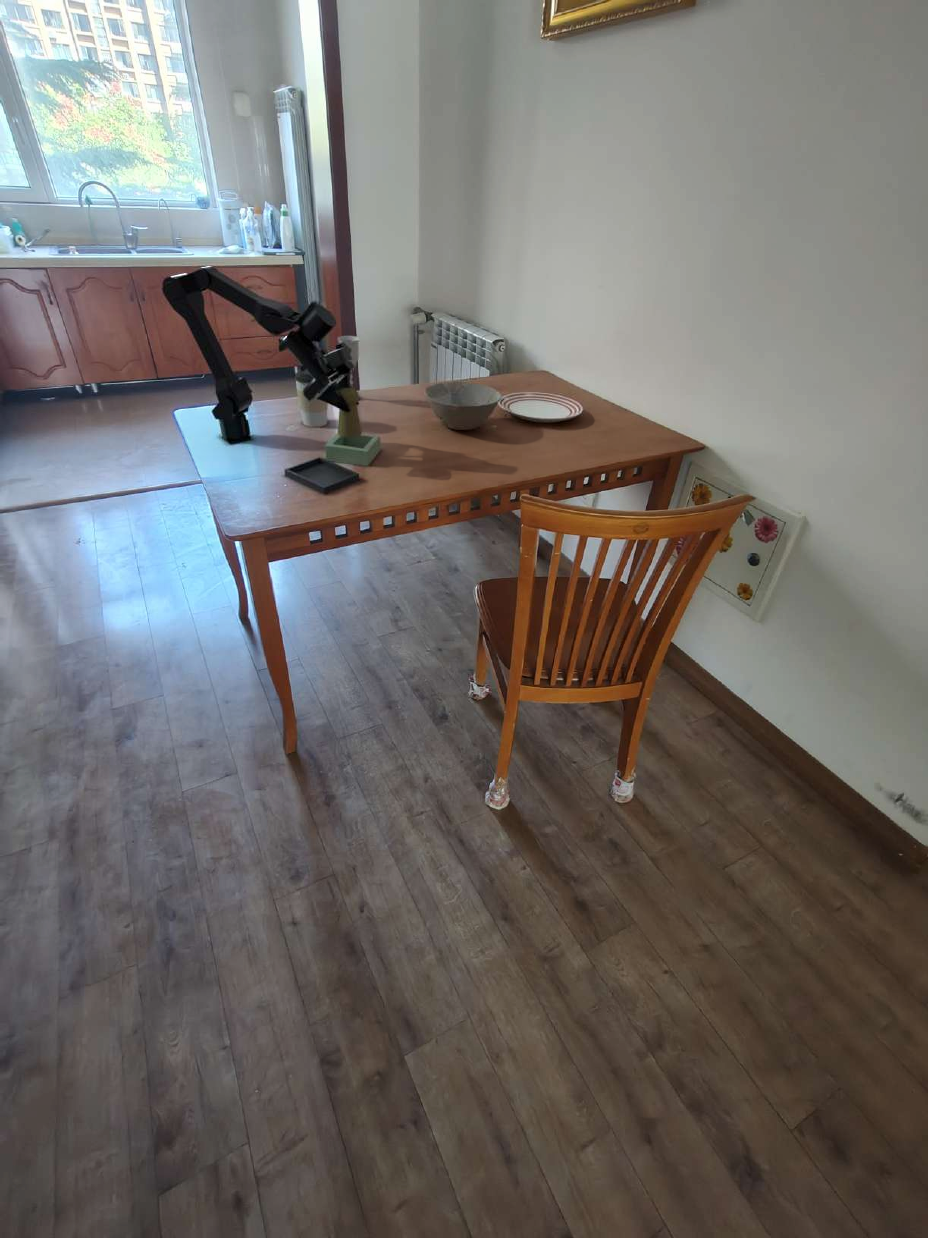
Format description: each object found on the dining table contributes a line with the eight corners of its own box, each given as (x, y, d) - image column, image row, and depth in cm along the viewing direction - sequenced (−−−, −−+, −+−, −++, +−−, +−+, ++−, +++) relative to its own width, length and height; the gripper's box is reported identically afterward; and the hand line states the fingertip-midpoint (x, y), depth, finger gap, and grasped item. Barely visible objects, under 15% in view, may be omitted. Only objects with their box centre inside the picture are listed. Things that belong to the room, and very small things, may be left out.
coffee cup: (313, 430, 168) (308, 375, 159) (292, 422, 172) (286, 368, 163) (337, 422, 174) (333, 369, 165) (316, 414, 178) (311, 362, 169)
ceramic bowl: (513, 429, 180) (517, 396, 174) (459, 446, 166) (461, 410, 160) (462, 408, 192) (465, 376, 185) (408, 422, 178) (408, 388, 172)
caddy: (326, 460, 153) (324, 445, 150) (341, 444, 162) (340, 430, 159) (367, 466, 152) (367, 451, 149) (380, 450, 160) (380, 435, 158)
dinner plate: (480, 408, 193) (480, 398, 191) (536, 395, 208) (537, 385, 206) (542, 435, 178) (544, 424, 176) (598, 418, 193) (600, 408, 191)
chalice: (344, 393, 196) (340, 334, 185) (364, 395, 195) (362, 336, 184) (338, 400, 190) (334, 340, 179) (358, 402, 190) (356, 342, 179)
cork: (361, 429, 154) (360, 385, 147) (361, 438, 149) (359, 393, 142) (338, 428, 153) (335, 384, 146) (336, 437, 148) (334, 392, 141)
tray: (284, 475, 144) (284, 469, 143) (320, 462, 151) (319, 456, 150) (324, 494, 138) (324, 487, 137) (359, 480, 145) (359, 473, 144)
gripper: (311, 340, 130) (359, 399, 135) (345, 324, 144) (388, 378, 149) (282, 372, 136) (329, 427, 141) (318, 353, 150) (360, 404, 156)
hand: (353, 408), depth 147 cm, fingers closed on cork, 5 cm apart
